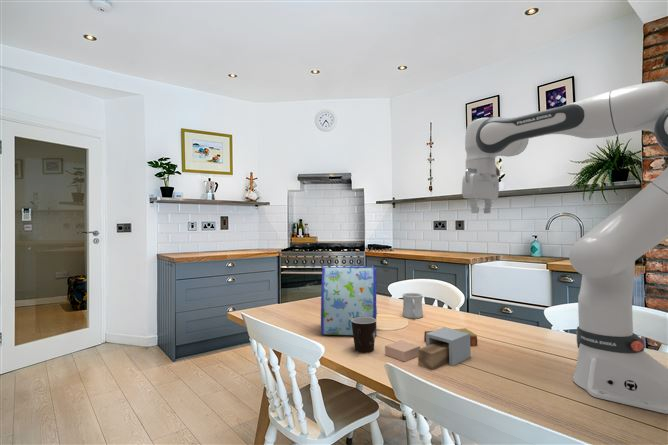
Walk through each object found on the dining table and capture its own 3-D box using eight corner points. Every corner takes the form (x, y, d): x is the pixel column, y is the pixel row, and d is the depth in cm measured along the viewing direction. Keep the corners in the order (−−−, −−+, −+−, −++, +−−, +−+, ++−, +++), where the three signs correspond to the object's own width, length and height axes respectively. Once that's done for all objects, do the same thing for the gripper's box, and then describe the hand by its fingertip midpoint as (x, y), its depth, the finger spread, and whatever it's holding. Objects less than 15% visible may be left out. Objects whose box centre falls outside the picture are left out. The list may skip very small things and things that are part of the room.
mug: (402, 313, 168) (401, 292, 168) (422, 314, 167) (421, 292, 167) (403, 320, 156) (403, 298, 156) (425, 321, 155) (424, 298, 155)
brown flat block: (477, 347, 122) (477, 334, 122) (433, 350, 121) (432, 337, 121) (466, 339, 131) (465, 327, 131) (424, 342, 129) (423, 330, 129)
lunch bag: (377, 325, 150) (376, 263, 150) (378, 338, 133) (377, 268, 133) (325, 325, 152) (323, 264, 152) (319, 337, 135) (318, 269, 135)
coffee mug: (363, 343, 127) (362, 315, 127) (382, 349, 121) (381, 319, 121) (340, 352, 119) (339, 322, 119) (359, 358, 113) (358, 327, 113)
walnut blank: (457, 359, 111) (457, 343, 111) (432, 371, 103) (431, 353, 103) (443, 355, 115) (443, 339, 115) (418, 365, 107) (418, 349, 107)
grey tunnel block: (470, 357, 112) (470, 333, 112) (452, 365, 106) (452, 340, 106) (444, 349, 119) (444, 327, 119) (426, 357, 113) (425, 333, 113)
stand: (420, 355, 115) (420, 346, 115) (404, 361, 110) (404, 352, 110) (401, 349, 121) (400, 340, 121) (385, 354, 116) (384, 345, 116)
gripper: (476, 165, 105) (477, 212, 105) (502, 172, 119) (503, 213, 119) (456, 168, 109) (457, 213, 109) (483, 174, 124) (484, 213, 124)
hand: (481, 213), depth 114 cm, fingers open, 8 cm apart
